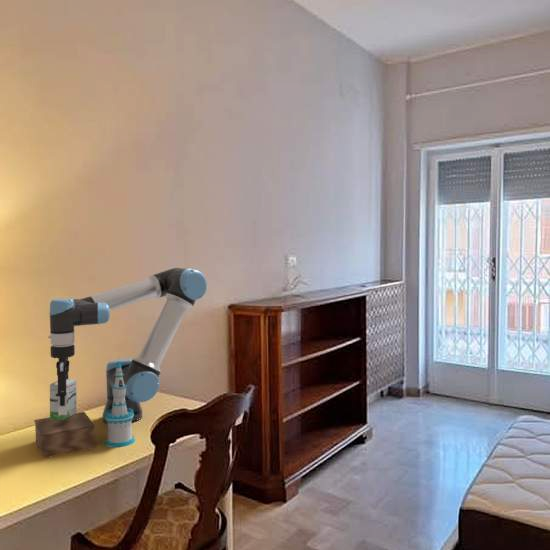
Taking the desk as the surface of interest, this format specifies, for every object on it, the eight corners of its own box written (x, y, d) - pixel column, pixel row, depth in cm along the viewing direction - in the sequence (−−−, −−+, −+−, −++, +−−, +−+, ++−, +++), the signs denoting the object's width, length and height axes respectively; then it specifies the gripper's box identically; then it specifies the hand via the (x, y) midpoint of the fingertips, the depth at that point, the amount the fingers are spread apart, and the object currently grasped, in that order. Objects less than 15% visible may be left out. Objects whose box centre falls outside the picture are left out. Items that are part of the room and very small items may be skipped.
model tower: (98, 444, 176) (97, 358, 174) (116, 434, 185) (115, 352, 183) (123, 448, 172) (121, 360, 171) (140, 438, 182) (139, 354, 180)
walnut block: (84, 433, 187) (84, 411, 187) (95, 448, 173) (95, 425, 173) (34, 442, 179) (34, 419, 178) (41, 459, 164) (41, 434, 164)
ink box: (62, 420, 170) (61, 385, 170) (49, 419, 171) (48, 384, 171) (77, 412, 179) (77, 378, 178) (64, 411, 180) (64, 378, 179)
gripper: (53, 339, 183) (54, 401, 184) (47, 351, 162) (48, 421, 163) (75, 338, 186) (76, 399, 187) (72, 350, 165) (74, 419, 166)
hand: (63, 410), depth 175 cm, fingers closed on ink box, 9 cm apart
